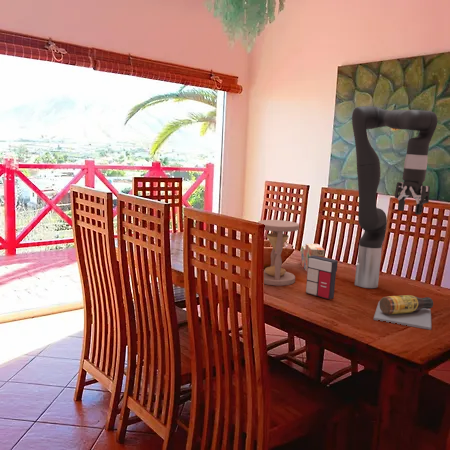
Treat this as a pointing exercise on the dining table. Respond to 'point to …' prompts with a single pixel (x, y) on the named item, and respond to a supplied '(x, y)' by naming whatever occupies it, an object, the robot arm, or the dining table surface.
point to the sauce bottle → (404, 304)
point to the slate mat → (407, 318)
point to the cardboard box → (310, 253)
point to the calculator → (321, 276)
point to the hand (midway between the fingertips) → (409, 212)
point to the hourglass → (278, 251)
